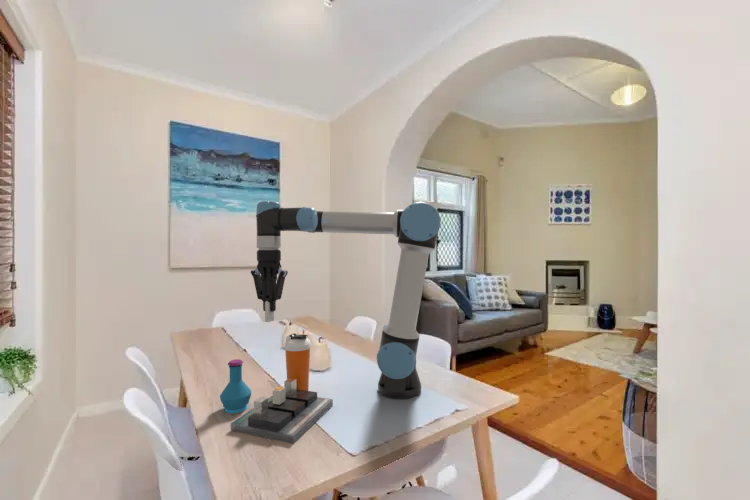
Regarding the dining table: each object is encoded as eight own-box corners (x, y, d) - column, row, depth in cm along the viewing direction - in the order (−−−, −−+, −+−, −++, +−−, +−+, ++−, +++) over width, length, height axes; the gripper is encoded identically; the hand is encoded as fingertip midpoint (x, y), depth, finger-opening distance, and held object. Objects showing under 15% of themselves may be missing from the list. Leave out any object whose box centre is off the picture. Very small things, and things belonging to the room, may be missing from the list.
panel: (332, 405, 115) (332, 380, 114) (293, 443, 93) (293, 412, 93) (279, 397, 121) (278, 373, 121) (230, 430, 99) (230, 401, 99)
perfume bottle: (221, 418, 107) (220, 367, 106) (219, 405, 115) (218, 359, 115) (253, 411, 111) (253, 363, 111) (249, 399, 119) (248, 354, 119)
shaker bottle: (305, 398, 120) (304, 339, 119) (280, 396, 121) (279, 337, 121) (314, 388, 128) (314, 332, 128) (291, 386, 130) (291, 331, 130)
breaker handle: (285, 400, 109) (285, 386, 109) (279, 404, 106) (279, 390, 106) (278, 399, 109) (278, 385, 109) (272, 403, 107) (272, 389, 106)
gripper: (292, 249, 119) (293, 320, 119) (259, 249, 123) (260, 317, 123) (279, 249, 112) (279, 325, 112) (244, 249, 116) (245, 322, 116)
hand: (269, 321), depth 118 cm, fingers closed
